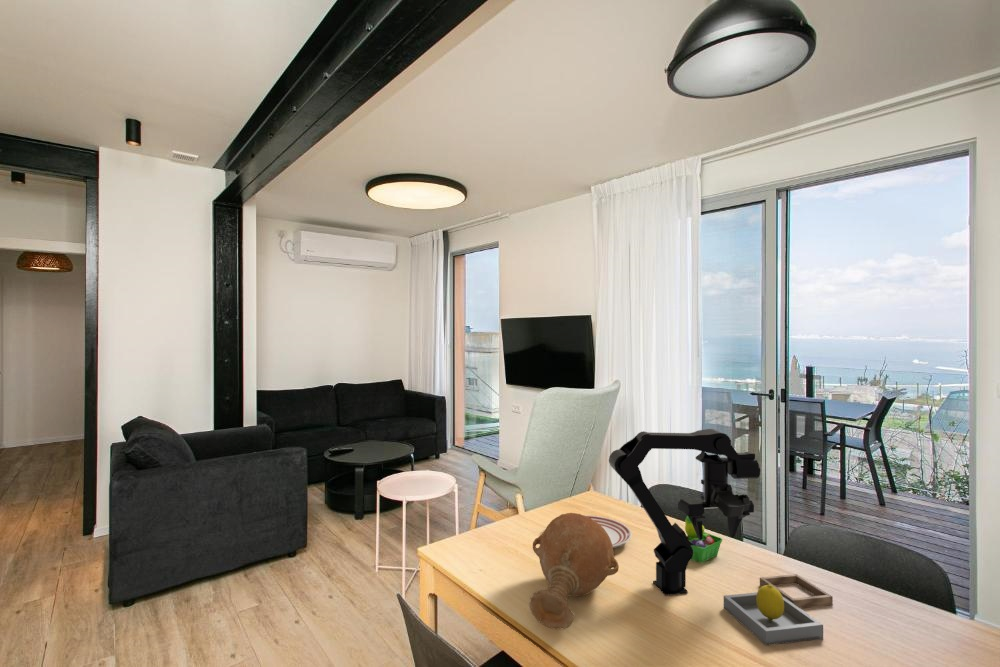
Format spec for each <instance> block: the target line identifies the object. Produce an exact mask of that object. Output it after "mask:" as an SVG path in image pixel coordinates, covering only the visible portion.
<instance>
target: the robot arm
mask: <svg viewBox="0 0 1000 667" xmlns="http://www.w3.org/2000/svg"><path fill="white" fill-rule="evenodd" d="M654 449H655V450H656V449H658V450H659V449H661V450H664V449H665V450H696V451H699V452H700V453H699V454H698V455H697V456H695V460H696V461H698V462H700V463H703V479H700V484H701V485H703V494H701V495H700V499H701V500H703V501H698V500H696V499H694V498H693V497H687V498H685V497H684V498H680V499H679V500H678V502H677V506H678V507H677V508H678V510H679V511H681V512H683V514H685V515H687V516H688V517H689V519H690V521H691V523H692V525H693V527H694V529H695V532H696V534H697V536H698V539H700V540H702V536H703V527H702V525H703V522H704V520H705V518H706V517H705V516H704V514H705V511H706V510H708V511H709V510H719V511H721V512H722V515H724V517H726V518H727V527H728V533H729V537H731V538H732V539H734V538H735V536H736V533H737V531H738V528H739V526H740V523H741V522H742V519H744V518H746V517H748V516H750V515H751V513H755V504H754V502H753V501H752V499H750V497H749V496H748V495H747V494H734V492H733V487H732V485H731V484H729V476H728V475H730V477H731V479H735V480H757V479H758V478H759V477H760V475H761V467H760V465H759V461H758V460H757V459H756V454H755V452H752V451H744V452H737V451H736V449H735V447H734V446H733V445H732V441H731V437H729V435H728V434H727V433H724V432H721V431H719V430H716V429H714V428H706V429H699V430H696V431H693V432H651V431H650V432H649V431H648V432H647V431H640V432H638V433H637V434H636V435H635V436H634V437H633V438H631V439H630V440H629V441H627V442H625V443H624V444H623V445H622V446H621V447H620V448H619V449H616V450H613V451H612V452H611V453H610V454H609V456H608V458H609V459H608V463H609V466H610V467H611V468H612V469H613V470H614V471H615V472H616V473H617V475H618V476H620V478H621V479H622V480H623V481H624V483H626V484H627V486H629V489H631V491H632V493H633V495H634V496H635V498H636V499H637V500H638V502H639V504H640V505H641V507H642V509H643V510H644V512H646V515H648V518H649V519H650V521H651V523H652V524H653V526H654V527H655V529H656V532H657V534H658V538H659V541H660V543H658V545H656V547H654V548H653V553H654V555H655V558H657V560H658V561H656V562H655V580H653V581H652V582H653V585H654V586H655V587H656V588H657V589H658V590H659V591H660V593H662V594H663V595H665V596H673V595H682V594H688V593H689V591H688V590H687V589H686V584H687V582H686V579H687V578H686V576H687V575H686V573H687V572H686V571H687V567H688V565H689V562H690V561H691V560H692V559H691V558H692V556H693V553H694V552H693V549H692V547H691V545H693V544H692V543H691V542H690V541H689V540H688V538H687V536H688V535H687V533H686V531H685V530H684V529H683V528H681V527H680V526H679V525H678V524H677V522H674V523H672V524H671V522H670V520H669V518H668V517H667V516H666V514H665V513H664V511H663V509H662V508H661V507H660V505H659V503H658V502H657V501H656V500H657V499H655V497H654V496H653V494H652V492H651V491H650V489H649V488H648V486H647V485H646V484H645V481H644V479H643V476H642V472H641V469H640V467H639V466H640V465H641V463H643V462H644V460H645V458H646V457H647V455H648V454H649V452H650V451H651V450H654ZM721 456H724V457H721Z"/></svg>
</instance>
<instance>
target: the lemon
mask: <svg viewBox="0 0 1000 667" xmlns="http://www.w3.org/2000/svg"><path fill="white" fill-rule="evenodd" d="M757 592H758V593H757V597H756V601H757V606H758V609H759V611H760V612H761V613H762V614H763V615H764V616H765V617H767V618H768V619H769V620H773V619H778V618H780V617H781V616H782V614H783V612H784V601H783V597H782V595H781V593H780V592H779V591H778V590H777V589H776V588H775V587H773V586H772V585H770V584H769V585H764V586H760V587H759V589H758V591H757Z"/></svg>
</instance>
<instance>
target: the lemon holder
mask: <svg viewBox="0 0 1000 667" xmlns="http://www.w3.org/2000/svg"><path fill="white" fill-rule="evenodd" d="M769 584H770V585H772V586H773V587H775V588H776V589H777V590H778V591H779V592H780V593H781V595H782V596H783V597H784V598H786V599H787V600H789V601H790V602H792V603H793V604H794V605H796V606H797V607H799V608H800V609H805V608H815V607H822V606H823V607H824V606H831V605H833V604H834V602H833V595H832V594H829V593H828V592H826V591H825V590H823V589H821V588H820V587H818V586H816V585H814V584H813V583H811V582H810V581H808V580H807V579H805V578H803V577H801V575H799V574H797V573H796V574H795V573H794V574H793V573H792V574H784V575H774V576H762V577H759V586H760V587H762V586H764V585H769ZM794 584H795V585H798V586H799V587H800V588H803V589H804V590H806V591H807V592H808V593H810V594H812V595H813V596H803V597H796V598H795V597H794V598H793V597H792V596H790V595H789V594H788V593H786V592H785V591H783V590H782V589H780V588H779V587H778V586H783V585H794Z"/></svg>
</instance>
